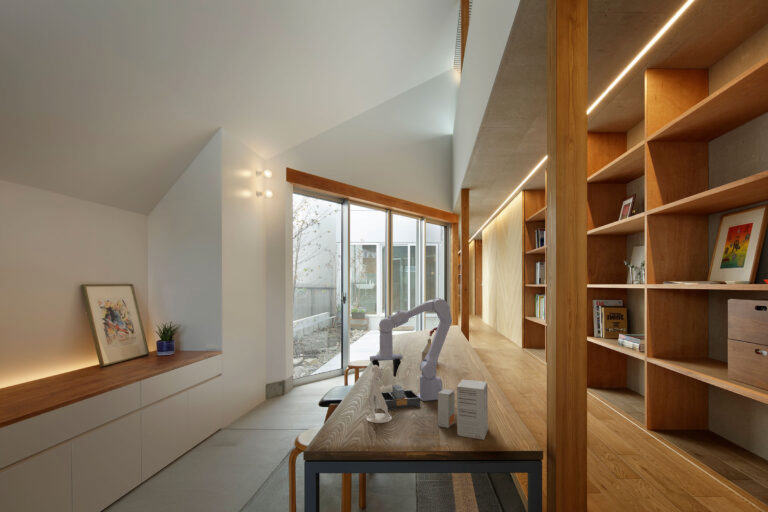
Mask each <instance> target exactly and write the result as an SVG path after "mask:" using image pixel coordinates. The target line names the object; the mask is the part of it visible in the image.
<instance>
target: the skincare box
mask: <svg viewBox="0 0 768 512" xmlns="http://www.w3.org/2000/svg"><path fill="white" fill-rule="evenodd" d="M455 392H456V391H455V390H453V389H449V388H443V389H442V390H441V391H440V392H439V393H438V400H437V425H438V427H443V428H446V429H449V428H450V427H452V426H453V425H454V424H455V423H456V422H455V420H456V419H455V418H456V417H455V414H456V413H455V410H456V407H455V400H456V399H455V398H456V397H455Z"/></svg>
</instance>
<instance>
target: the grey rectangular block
mask: <svg viewBox="0 0 768 512" xmlns="http://www.w3.org/2000/svg"><path fill="white" fill-rule="evenodd" d="M391 385H392V388H391V389H392V391H391V392H392V395H393V397H394V398H395V399H402V398H404V391H405V389H404V388H403V387H402V385H400V384H398V383H397V384H391Z"/></svg>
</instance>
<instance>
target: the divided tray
mask: <svg viewBox="0 0 768 512" xmlns="http://www.w3.org/2000/svg"><path fill="white" fill-rule="evenodd" d="M381 393H382V395H383V398H384V400H385V403H386V405H387V407H388V411H389V410H397V409H398V410H399V409H407V408H417V407H421V399H420V397H419V396H418V395H417V394H418V393H415V392H414V390H412V389H407V390H404V398H402V399H395V398H394V397H393V395H392V391H385V392H382V391H381Z"/></svg>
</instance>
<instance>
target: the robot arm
mask: <svg viewBox="0 0 768 512" xmlns="http://www.w3.org/2000/svg"><path fill="white" fill-rule="evenodd" d="M450 307H451V306H450V305H449V303H448V302H447V301H446V300H445V299H443V298H440V297H435V298H433V299H428V300H426V301H424V302H422V303H420V304H418V305H416V306H414V307H413V308H410V309H409V310H407V311H405V310H403V309H402V310H399V309H398V310H397V311H396V312H395V313H394V314H392V315H387V317H384V318H381V320H380V321H379V324H378V326H379V354H378V355H371V356H369V362H371V363H372V367H373V366H375V365H377V366H378V367H379V368H380V362H381V361H392V373H393V377H395V378H396V377H397V374H398V373H397V372H398V370H399V367H400V365H401V362H402V361H403V357H404V356H403V354H394V353H393V344H394V343H393V329H397V328H398V327H401V326H402V325H404V324H407V323H408V322H409V319H410V318H414V317H415V316H418V315H420V314H422V313H426V312H431V313H433V312H434V313H435V314H436V316H437V317H438V320H439V322H438V325H437V328H436V330H435V333H434V335H433V338H432V341H431V343H430V346H429V348H428V351H427V352H428V353H426V355H425V356H424V359H423V360H422V361H421V362H420V364H419V371H421V374H420V375H419V393H416V394H417V395H418V396H419V397H420V401H422V402H423V401H424V402H425V401H427V402H428V401H438V393H439V392H440V391H441V390H443V381H442V378H441V377H440V376H437V367H438V364H439V363H438V362H439V357H440V354H441V351H442V349H443V346H444V344H445V341H446V338H447V336H448V333H449V331H450V327H451V325H452V321H453V319H452V313H451V308H450ZM401 360H402V361H401Z"/></svg>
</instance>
